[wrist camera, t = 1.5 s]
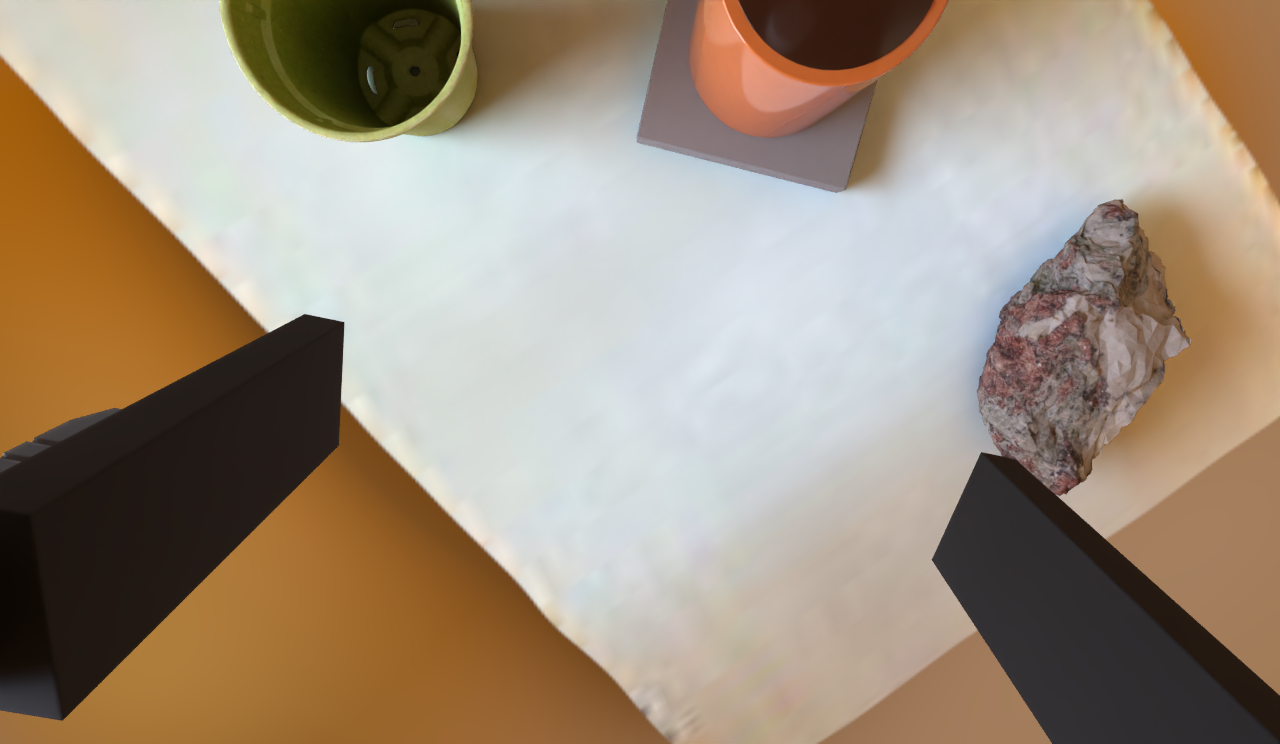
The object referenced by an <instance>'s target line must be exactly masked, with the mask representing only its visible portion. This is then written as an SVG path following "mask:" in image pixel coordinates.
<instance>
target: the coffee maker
mask: <svg viewBox="0 0 1280 744" xmlns="http://www.w3.org/2000/svg"><path fill="white" fill-rule="evenodd" d="M698 1H699V0H668V1H667V5H666V10H665V14H664V18H663V23H662V27H661V32H660V36H659V41H658V45H657V50H656V54H655V58H654V63H653V67H652V72H651V76H650V81H649V85H648V90H647V94H646V98H645V103H644V107H643V112H642V116H641V121H640V125H639V130H638V134H637V142H638V143H641V144H645V145H649V146H653V147H657V148H661V149H665V150H669V151H673V152H677V153H681V154H685V155H689V156H693V157H697V158H701V159H705V160H709V161H713V162H717V163H721V164H725V165H728V166H732V167H736V168H740V169H744V170H748V171H752V172H756V173H760V174H764V175H768V176H772V177H776V178H780V179H784V180H788V181H792V182H796V183H800V184H804V185H808V186H812V187H816V188H820V189H824V190H828V191H831V192H835V193H836V192H840V191H843V190H845V189H846V187H847V184H848V180H849V177H850V173H851V170H852V166H853V163H854V159H855V156H856V152H857V149H858V145H859V142H860V138H861V135H862V131H863V128H864V124H865V121H866V117H867V114H868V110H869V107H870V103H871V100H872V96H873V93H874V89H875V86H876V82H877V80H876V81H875V82H873V83H872V84H870V85H869V86H867V87H866V88H865V89H863V90H862V91H860V92H859V93H857V94H856V95H855V96H853V97H852V98H850V99H849V100H848V101H846V102H845V103H843V104H842V105H840V106H839V107H838V108H836V109H835V110H833V111H832V112H830V113H829V114H828V115H826V116H825V117H823V118H822V119H820V120H819V121H818V122H816V123H815V124H813V125H811V126H810V127H808V128H806V129H804V130H802V131H800V132H797V133H795V134H791V135H788V136H784V137H775V138H762V137H755V136H750V135H747V134H744V133H741V132H739V131H737V130H734V129H732V128H731V127H729V126H728V125H726V124H724V123H723V122H722V121H721V120H719V119H718V118H717V117H716V116H715V115H714V114H713V113H712V112H711V111H710V110H709V109H708V107H707V106H706V105H705V103H704V102H703V100H702V99H701V97H700V95H699V93H698V91H697V89H696V87H695V84H694V81H693V78H692V75H691V70H690V66H689V56H688V48H689V36H690V30H691V26H692V23H693V19H694V15H695V12H696V8H697V4H698Z"/></svg>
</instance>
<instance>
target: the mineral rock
mask: <svg viewBox="0 0 1280 744" xmlns="http://www.w3.org/2000/svg"><path fill="white" fill-rule="evenodd" d="M1164 270H1165V267H1164V266H1163V265H1162V263H1161V259H1160V258H1159V257H1158V256H1157V255H1156V254H1154V253H1153V252H1150V251H1149V250H1148V238H1147V237H1145V234H1144V230H1142V229H1141V228H1140V227H1139V223H1138V213H1136V212H1134V211H1132V210H1130V209H1129V208H1128V207H1127V206H1126V205H1124V204H1123V200H1122V199H1121V200H1113V201H1110V202H1106V203H1103V204H1100V205H1098V207H1097V208H1096V209H1094V211H1093V213H1092V214H1091V215H1090V216H1089V217H1088V218H1087V219H1086V220H1085V222H1084V224H1083V225H1082V227H1081V228H1080V230H1079V232H1077V233H1076V234H1075V235H1074V236H1073V237H1071V238H1070V239H1069V240H1068V241H1067V242H1066V243H1065V246H1064V248H1063V249H1062V250H1061V251H1060V252H1059V253H1058V255H1057V256H1056V257H1055V258H1054V259H1048V260H1047V261H1046V262H1044V263H1043V264H1042V265H1041V266H1040V268H1039V269H1038V270H1037V271H1036V273H1035V274H1034V275H1033V277H1032V278H1031V280H1030V282H1029V283H1028V284H1027V285H1025V286H1024V288H1023V290H1022V291H1019V292H1017V293H1016V294H1015V295H1014V296H1012V297H1011V299H1010V301H1009V302H1008V303H1007V304H1006V305H1005V306H1004V307H1003V308H1002V310H1001V311H1000V316H999V318H1000V319H1001V320H1002V321H1000V322H1001V323H1000V325H999V326H998V329H997V334H996V339H995V343H994V344H993V345H992V346H991V348H990V349H989V350H988V353H987V360H986V363H985V366H984V371H983V374H982V376H980V380H979V388H978V390H977V394H978V401H979V412H980V413H981V414H982V416H983V422H984V425H985V426H986V427H987V428H988V431H989V434H990V435H991V436H992V439H993V443H994V444H995V446H996V447H997V448H998V450H999V451H1000V452H1001V455H1002V457H1007V458H1011V459H1016V460H1017V461H1018V462H1020V463H1021V464H1022V465H1023V466H1024V467H1025V468H1026V469H1027V470H1028V471H1030V472H1031V473H1032V474H1033V475H1034V476H1035V477H1036V478H1037V479H1038V480H1040V481H1041V482H1042V483H1043V484H1044V485H1045V486H1046V487H1047V488H1049V489H1050V490H1051V491H1052V492H1053V493H1054V494H1056V495H1059V496H1060V495H1062V494H1063V493H1064V494H1067V493H1068V491H1069V490H1071V489H1072V488H1073V487H1075V486H1076V485H1079V483H1080V482H1084V481H1085V480H1086V478H1087V476H1088V475H1090V474H1091V471H1092V459H1094V458H1095V457H1096V456H1097V455H1098V454H1099V453H1100V451H1101V447H1102V446H1103V445H1106V444H1109V443H1110V442H1111V441H1112V440H1113V439H1114V438H1115V437H1116V436H1117V435H1118V434H1119V432H1120V429H1121V427H1123V426H1126V425H1128V424H1129V423H1130V422H1131V421H1132V420H1133V419H1134V416H1135V414H1136V412H1137V411H1138V410H1139V409H1140V408H1141V407H1142V406H1143V405H1144V404H1145V403H1146V401H1147V400H1148V398H1149V397H1150V396H1151V394H1152V393H1153V391H1154V390H1155V389H1156V388H1157V387H1158V386H1159V385H1160V384H1161V382H1162V381H1163V380H1164V374H1165V364H1164V361H1165V360H1167V359H1168V358H1169V357H1174V356H1176V355H1178V354H1179V353H1180V351H1182V350H1183V349H1185V348H1187V347H1189V346H1190V342H1191V338H1189V337H1187V336H1186V334H1185V331H1184V330H1183V327H1182V326H1181V323H1180V320H1181V319H1179V318H1177V317H1175V316H1174V317H1173V314H1174V312H1175V311H1176V310H1175V307H1174V306H1172V301H1170V300H1169V299H1168V294H1167V288H1166V283H1165V279H1164Z"/></svg>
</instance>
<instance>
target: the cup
mask: <svg viewBox="0 0 1280 744" xmlns="http://www.w3.org/2000/svg"><path fill="white" fill-rule="evenodd" d="M947 2H948V0H699V1H698V4H697V8H696V12H695V15H694V19H693V23H692V26H691V30H690V36H689V48H688V56H689V66H690V70H691V75H692V78H693V81H694V84H695V87H696V89H697V91H698V93H699V95H700V97H701V99H702V100H703V102H704V103H705V105H706V106H707V107H708V109H709V110H710V111H711V112H712V113H713V114H714V115H715V116H716V117H717V118H718V119H719V120H721V121H722V122H723V123H724V124H726V125H728V126H729V127H731V128H732V129H734V130H737V131H739V132H741V133H744V134H747V135H750V136H755V137H762V138H775V137H784V136H788V135H791V134H795V133H797V132H800V131H802V130H804V129H806V128H808V127H810V126H811V125H813V124H815V123H816V122H818V121H819V120H820V119H822V118H823V117H825V116H826V115H828V114H829V113H830V112H832V111H833V110H835V109H836V108H838V107H839V106H840V105H842V104H843V103H845V102H846V101H848V100H849V99H850V98H852V97H853V96H855V95H856V94H857V93H859V92H860V91H862V90H863V89H865V88H866V87H867V86H869V85H870V84H872V83H873V82H875V81H876V80H877V79H879V78H880V77H882V76H883V75H885V74H886V73H887V72H889V71H890V70H892V69H893V68H895V67H896V66H897V65H899V64H900V63H901V62H903V61H904V60H905V59H906V58H908V57H909V56H910V55H911V54H912V53H913V52H914V51H915V50H916V49H917V48H918V47H919V46H920V45H921V44H922V43H923V42H924V40H925V39H926V38H927V37H928V35H929V34H930V33H931V32H932V30H933V28H934V27H935V25H936V24H937V22H938V20H939V19H940V17H941V15H942V13H943V11H944V9H945V7H946V4H947Z"/></svg>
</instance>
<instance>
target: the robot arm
mask: <svg viewBox="0 0 1280 744" xmlns="http://www.w3.org/2000/svg"><path fill="white" fill-rule="evenodd" d="M343 342H344V322H341V321H336V320H331V319H326V318H321V317H316V316H311V315H307V314H304V315H302V316H300V317H298V318H296V319H295V320H293V321H291V322H289V323H287V324H285V325H283V326H281V327H279V328H277V329H275V330H273V331H272V332H270V333H268V334H266V335H264V336H262V337H260V338H258V339H256V340H254V341H252V342H250V343H249V344H247V345H245V346H243V347H241V348H239V349H237V350H235V351H233V352H231V353H229V354H227V355H225V356H224V357H222V358H220V359H218V360H216V361H214V362H212V363H210V364H208V365H206V366H204V367H203V368H200V369H199V370H197V371H195V372H193V373H191V374H189V375H187V376H185V377H183V378H181V379H180V380H177V381H176V382H174V383H172V384H170V385H168V386H166V387H164V388H162V389H160V390H158V391H156V392H154V393H153V394H151V395H149V396H147V397H145V398H143V399H141V400H139V401H137V402H135V403H133V404H131V405H129V406H127V407H126V408H124V409H118V408H113V409H109V410H105V411H102V412H98V413H95V414H91V415H87V416H83V417H80V418H76V419H73V420H69V421H67V422H66V423H63V424H61V425H59V426H57V427H55V428H53V429H51V430H49V431H47V432H45V433H43V434H41V435H39V436H37V437H35V438H34V441H33V442H25V443H23V444H21V445H19V446H17V447H15V448H13V449H11V450H9V451H6V452H4V453H3V456H2V457H1V458H0V710H1V711H8V712H13V713H19V714H25V715H32V716H38V717H44V718H50V719H56V720H63V719H64V718H66V717H67V716H68V715H69V714H70V713H71V712H72V711H73V710H74V709H75V708H76V706H78V704H80V703H81V702H82V701H83V700H84V698H86V697H87V696H88V695H89V694H90V693H91V692H92V691H93V690H94V689H95V688H96V687H97V686H98V684H100V683H101V682H102V681H103V680H104V679H105V678H106V677H107V676H108V675H109V674H110V673H111V672H112V671H113V670H114V669H115V668H116V667H117V666H118V665H119V664H120V663H121V662H122V661H123V660H124V659H125V658H126V657H127V656H128V655H129V654H130V653H131V652H132V651H133V650H134V649H135V648H136V647H137V646H138V645H139V644H140V643H141V642H142V641H143V640H144V639H145V638H146V637H147V636H148V635H149V634H150V633H151V632H152V631H153V630H154V629H155V628H156V627H157V626H158V625H159V624H160V623H161V622H162V621H163V620H164V619H165V618H166V617H167V616H168V615H169V614H170V613H171V612H172V611H173V610H174V609H175V608H176V607H177V606H178V605H179V604H180V603H181V602H182V601H183V600H184V599H185V598H186V597H187V596H188V595H189V594H190V593H191V592H192V591H193V590H194V589H195V588H196V587H197V586H198V585H199V584H200V583H201V582H202V581H203V580H204V579H205V578H206V577H207V576H208V575H209V574H210V573H211V572H212V571H213V570H214V569H215V568H216V567H217V566H218V565H219V564H220V563H221V562H222V561H223V560H224V559H225V558H226V557H227V556H228V555H229V554H230V553H231V552H232V551H233V550H234V549H235V548H236V547H237V546H238V545H239V544H240V543H241V542H242V541H243V540H244V539H245V538H246V537H247V536H248V535H249V534H250V533H251V532H252V531H253V530H254V529H255V528H256V527H257V526H258V525H259V524H260V523H261V522H262V521H263V520H264V519H265V518H266V517H267V516H268V515H269V514H270V513H271V512H272V511H273V510H274V509H275V508H276V507H277V506H278V505H279V504H280V503H281V502H282V501H283V500H284V499H285V498H286V497H287V496H288V495H289V494H291V493H292V491H293V490H295V489H296V488H297V487H298V486H299V485H300V484H301V483H302V481H304V479H306V478H307V476H308V475H310V474H311V472H313V470H314V469H316V467H318V466H319V465H320V464H321V463H322V462H323V461H324V460H325V459H326V458H327V457H328V455H329V454H331V452H333V451H334V450H335V449H336V448H337V446H338V445H339V427H340V407H341V385H342V364H343ZM932 561H933V562H934V564H935V565H936V567H937V569H938V570H939V572H940V573H941V575H942V576H943V578H944V579H945V581H946V582H947V584H948V585H949V587H950V588H951V590H952V591H953V593H954V594H955V596H956V597H957V599H958V601H959V602H960V604H961V605H962V607H963V608H964V610H965V611H966V613H967V614H968V616H969V617H970V619H971V620H972V622H973V623H974V625H975V626H976V628H977V629H978V631H979V633H980V634H981V636H982V637H983V639H984V640H985V642H986V643H987V645H988V646H989V647H990V649H991V651H992V652H993V654H994V655H995V657H996V658H997V660H998V662H999V663H1000V664H1001V666H1002V668H1003V669H1004V671H1005V672H1006V674H1007V675H1008V677H1009V678H1010V680H1011V681H1012V683H1013V684H1014V686H1015V687H1016V689H1017V690H1018V692H1019V694H1020V695H1021V697H1022V698H1023V700H1024V701H1025V702H1026V704H1027V706H1028V707H1029V709H1030V710H1031V712H1032V713H1033V715H1034V716H1035V718H1036V719H1037V721H1038V723H1039V724H1040V726H1041V727H1042V729H1043V730H1044V732H1045V733H1046V735H1047V736H1048V738H1049V739H1050V741H1051V742H1052V744H1280V695H1278V694H1277V693H1276V692H1275V691H1274V690H1273V689H1272V688H1271V687H1269V686H1268V685H1267V684H1266V683H1265V682H1264V681H1263V680H1262V679H1261V678H1259V677H1258V676H1257V675H1256V674H1255V673H1254V672H1253V671H1252V670H1251V669H1249V668H1248V667H1247V666H1246V665H1245V664H1244V663H1243V662H1242V661H1240V660H1239V659H1238V658H1237V657H1236V656H1235V655H1234V654H1233V653H1232V652H1230V651H1229V650H1228V649H1227V648H1226V647H1225V646H1224V645H1223V644H1221V643H1220V642H1219V641H1218V640H1217V639H1216V638H1215V637H1214V636H1213V635H1211V634H1210V633H1209V632H1208V631H1207V630H1206V629H1205V628H1204V627H1203V626H1201V625H1200V624H1199V623H1198V622H1197V621H1196V620H1195V619H1194V618H1193V617H1191V616H1190V615H1189V614H1188V613H1187V612H1186V611H1185V610H1184V609H1182V608H1181V607H1180V606H1179V605H1178V604H1177V603H1176V602H1175V601H1174V600H1172V599H1171V598H1170V597H1169V596H1168V595H1167V594H1166V593H1165V592H1164V591H1162V590H1161V589H1160V588H1159V587H1158V586H1157V585H1156V584H1155V583H1153V582H1152V581H1151V580H1150V579H1149V578H1148V577H1147V576H1146V575H1145V574H1143V573H1142V572H1141V571H1140V570H1139V569H1138V568H1137V567H1135V566H1134V565H1133V564H1132V563H1131V562H1130V561H1129V560H1128V559H1127V558H1125V557H1124V556H1123V555H1122V554H1121V553H1120V552H1119V551H1118V550H1117V549H1116V548H1114V547H1113V546H1112V545H1111V544H1110V543H1109V542H1108V541H1107V540H1105V539H1104V538H1103V537H1102V536H1101V535H1100V534H1099V533H1098V532H1097V531H1095V530H1094V529H1093V528H1092V527H1091V526H1090V525H1089V524H1088V523H1086V522H1085V521H1084V520H1083V519H1082V518H1081V517H1080V516H1079V515H1078V514H1076V513H1075V512H1074V511H1073V510H1072V509H1071V508H1070V507H1069V506H1068V505H1066V504H1065V503H1064V502H1063V501H1062V500H1061V499H1060V498H1059V497H1057V496H1056V495H1055V494H1054V493H1053V492H1052V491H1051V490H1050V489H1049V488H1047V487H1046V486H1045V485H1044V484H1043V483H1042V482H1041V481H1040V480H1038V479H1037V478H1036V477H1035V476H1034V475H1033V474H1032V473H1031V472H1030V471H1028V470H1027V469H1026V468H1025V467H1024V466H1023V465H1022V464H1021V463H1020V462H1018V461H1017V460H1016V459H1011V458H1007V457H1002V456H997V455H992V454H987V453H982V452H981V454H980V456H979V458H978V460H977V463H976V465H975V467H974V469H973V471H972V474H971V476H970V478H969V480H968V482H967V484H966V487H965V489H964V491H963V493H962V495H961V498H960V500H959V502H958V504H957V506H956V508H955V511H954V513H953V515H952V517H951V519H950V522H949V524H948V526H947V528H946V530H945V532H944V535H943V537H942V539H941V541H940V543H939V546H938V548H937V550H936V552H935V554H934V556H933V559H932Z"/></svg>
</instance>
